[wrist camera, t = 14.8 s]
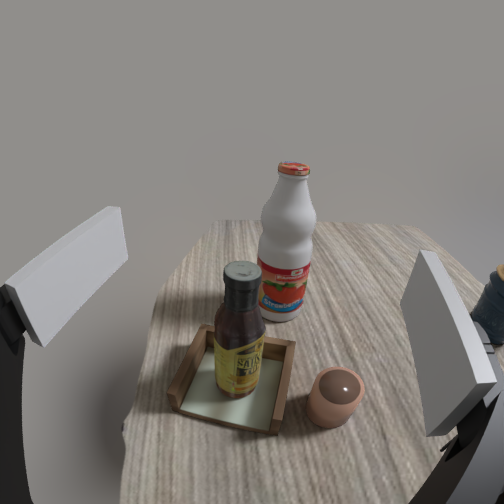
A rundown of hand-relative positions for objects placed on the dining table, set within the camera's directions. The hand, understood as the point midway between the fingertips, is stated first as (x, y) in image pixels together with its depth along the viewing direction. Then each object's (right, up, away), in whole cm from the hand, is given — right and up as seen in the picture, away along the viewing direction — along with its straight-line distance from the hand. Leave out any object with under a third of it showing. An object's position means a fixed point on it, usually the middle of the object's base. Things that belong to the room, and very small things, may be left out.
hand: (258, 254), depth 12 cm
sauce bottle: (-2, -19, +28) cm, 34 cm away
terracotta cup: (+11, -23, +26) cm, 36 cm away
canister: (+56, -18, +39) cm, 71 cm away
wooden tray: (-3, -20, +29) cm, 35 cm away
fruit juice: (+5, -11, +46) cm, 47 cm away
